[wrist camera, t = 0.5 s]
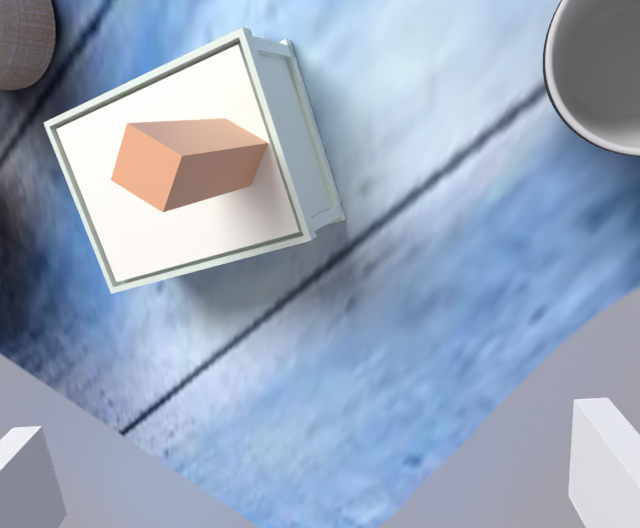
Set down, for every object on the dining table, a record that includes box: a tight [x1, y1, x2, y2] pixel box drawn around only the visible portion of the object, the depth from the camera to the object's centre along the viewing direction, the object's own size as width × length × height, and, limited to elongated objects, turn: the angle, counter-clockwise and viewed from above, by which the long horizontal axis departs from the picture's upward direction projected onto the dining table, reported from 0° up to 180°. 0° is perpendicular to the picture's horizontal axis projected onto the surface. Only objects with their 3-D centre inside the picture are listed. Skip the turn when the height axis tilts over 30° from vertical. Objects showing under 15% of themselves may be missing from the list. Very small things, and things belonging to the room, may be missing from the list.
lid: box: [56, 45, 302, 282], centre depth 32 cm, size 16×12×10 cm
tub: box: [44, 27, 346, 294], centre depth 38 cm, size 17×13×7 cm
